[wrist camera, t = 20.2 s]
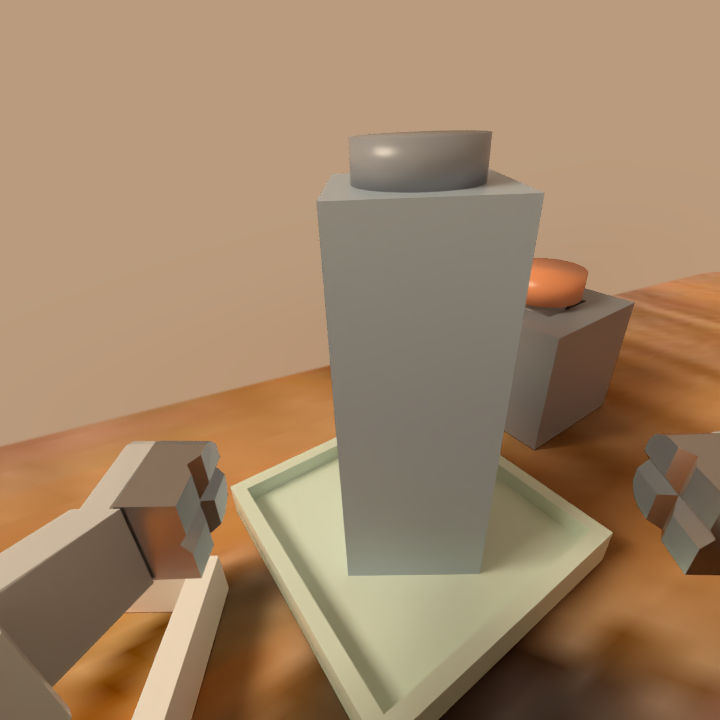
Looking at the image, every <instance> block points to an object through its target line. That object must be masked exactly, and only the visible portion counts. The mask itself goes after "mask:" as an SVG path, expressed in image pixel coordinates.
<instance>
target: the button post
mask: <svg viewBox="0 0 720 720" xmlns="http://www.w3.org/2000/svg"><path fill="white" fill-rule="evenodd" d="M633 306H634V302H630V301H627V300H623V299H620V298H616V297H613V296H609V295H606V294H602V293H599V292H595V291H592V290H588V289H584V293H583V297H582V300H581V301H580V302H579V303H577V304H575V305H571V306H567V307H566V310H565V311H563V312H560V313H558V314H556V315H553V316H551V317H546V316H544V315H541V314H538V313H535V312H533V311H530V310H527V309H525V310H524V316H523V322H522V328H521V334H520V340H519V346H518V351H517V357H516V363H515V369H514V375H513V381H512V387H511V393H510V398H509V404H508V410H507V416H506V422H505V428H504V431H505V432H507V433H508V434H510V435H512V436H513V437H515V438H516V439H518V440H519V441H521V442H523V443H524V444H526V445H527V446H529V447H531V448H532V449H534V450H535V449H537V448H538V447H540V446H541V445H543V444H544V443H546V442H547V441H549V440H550V439H552V438H553V437H555V436H556V435H558V434H560V433H561V432H563V431H564V430H566V429H567V428H569V427H570V426H572V425H573V424H575V423H576V422H578V421H579V420H581V419H582V418H584V417H585V416H587V415H588V414H590V413H591V412H593V411H594V410H596V409H598V408H599V407H601V406H602V405H603V404H604V400H605V397H606V394H607V391H608V387H609V384H610V381H611V378H612V374H613V371H614V368H615V365H616V361H617V358H618V355H619V352H620V348H621V345H622V342H623V339H624V335H625V332H626V329H627V326H628V322H629V319H630V316H631V313H632V309H633Z"/></svg>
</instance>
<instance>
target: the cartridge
mask: <svg viewBox="0 0 720 720" xmlns="http://www.w3.org/2000/svg"><path fill="white" fill-rule="evenodd" d="M491 138H492V132H491V131H423V132H422V131H421V132H400V133H399V132H398V133H382V134H368V135H358V136H351V137H349V160H350V173H349V174H332V175H331V177H330V178H329V180H328V182H327V184H326V185H325V187H324V189H323V191H322V193H321V194H320V196H319V198H318V200H317V212H318V225H319V237H320V248H321V259H322V272H323V284H324V295H325V307H326V319H327V331H328V342H329V354H330V366H331V378H332V390H333V402H334V414H335V425H336V437H337V449H338V461H339V473H340V484H341V496H342V508H343V520H344V532H345V543H346V555H347V567H348V576H378V575H454V574H480V569H481V563H482V557H483V551H484V545H485V540H486V534H487V528H488V522H489V516H490V510H491V504H492V498H493V493H494V487H495V481H496V475H497V469H498V463H499V457H500V451H501V445H502V440H503V434H504V428H505V422H506V416H507V410H508V404H509V398H510V393H511V387H512V381H513V375H514V369H515V363H516V357H517V351H518V346H519V340H520V334H521V328H522V322H523V316H524V310H525V304H526V298H527V293H528V287H529V281H530V275H531V269H532V263H533V257H534V251H535V245H536V240H537V234H538V228H539V222H540V216H541V210H542V204H543V198H544V192H541V191H539V190H536V189H534V188H532V187H530V186H528V185H525V184H523V183H521V182H518V181H516V180H514V179H511V178H509V177H507V176H505V175H502V174H500V173H498V172H495V171H493V170H491V169H488V167H489V158H490V148H491Z"/></svg>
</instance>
